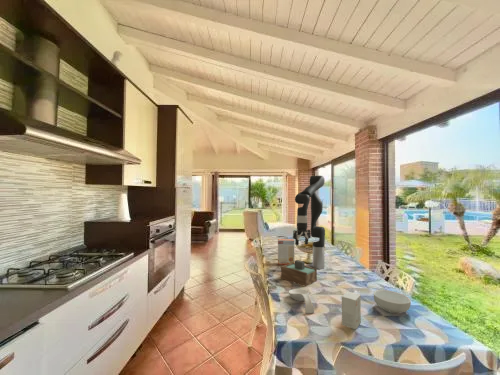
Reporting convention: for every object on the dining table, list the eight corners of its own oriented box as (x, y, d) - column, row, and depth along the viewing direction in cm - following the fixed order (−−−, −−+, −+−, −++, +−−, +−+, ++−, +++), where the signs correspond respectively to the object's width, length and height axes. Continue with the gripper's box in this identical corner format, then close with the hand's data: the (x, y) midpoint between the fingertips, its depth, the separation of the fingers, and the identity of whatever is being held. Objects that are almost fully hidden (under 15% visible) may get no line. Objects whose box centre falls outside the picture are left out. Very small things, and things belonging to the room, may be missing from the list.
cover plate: (293, 265, 176) (293, 257, 176) (315, 271, 163) (315, 262, 163) (284, 268, 169) (284, 260, 169) (306, 274, 156) (306, 265, 156)
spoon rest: (286, 294, 142) (286, 282, 142) (304, 294, 143) (304, 281, 144) (299, 314, 118) (299, 300, 119) (321, 313, 120) (321, 299, 120)
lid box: (292, 273, 178) (292, 262, 179) (316, 281, 164) (316, 268, 164) (281, 278, 169) (281, 266, 169) (305, 286, 154) (305, 273, 154)
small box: (347, 317, 115) (347, 290, 116) (361, 322, 111) (361, 294, 112) (341, 324, 109) (341, 296, 110) (355, 330, 105) (355, 300, 106)
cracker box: (293, 263, 206) (294, 239, 207) (294, 265, 200) (294, 240, 201) (277, 262, 207) (277, 238, 208) (277, 264, 201) (277, 239, 202)
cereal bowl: (411, 321, 113) (411, 306, 113) (372, 312, 121) (372, 298, 122) (410, 307, 127) (409, 293, 127) (375, 299, 136) (374, 287, 136)
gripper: (306, 221, 178) (305, 243, 177) (290, 221, 172) (290, 244, 171) (313, 222, 172) (312, 245, 171) (297, 222, 165) (297, 246, 164)
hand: (301, 244), depth 171 cm, fingers open, 8 cm apart
